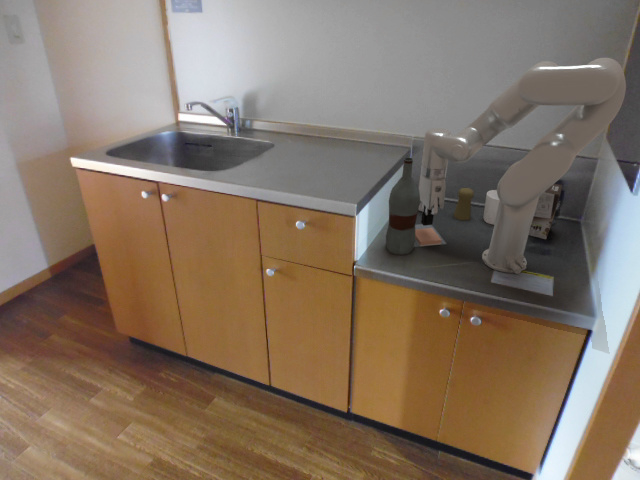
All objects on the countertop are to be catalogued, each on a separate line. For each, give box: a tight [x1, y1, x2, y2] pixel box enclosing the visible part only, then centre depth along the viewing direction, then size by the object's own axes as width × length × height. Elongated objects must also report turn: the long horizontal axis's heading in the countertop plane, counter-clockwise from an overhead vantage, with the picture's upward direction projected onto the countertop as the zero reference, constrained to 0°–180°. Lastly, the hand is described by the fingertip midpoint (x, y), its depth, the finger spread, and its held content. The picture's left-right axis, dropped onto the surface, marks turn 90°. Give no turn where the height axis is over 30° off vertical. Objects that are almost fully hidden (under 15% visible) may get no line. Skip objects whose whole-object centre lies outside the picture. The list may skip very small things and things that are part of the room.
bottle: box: [385, 156, 420, 256], centre depth 133 cm, size 9×9×30 cm
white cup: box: [482, 189, 500, 226], centre depth 154 cm, size 8×8×10 cm
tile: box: [415, 228, 442, 247], centre depth 144 cm, size 2×7×8 cm
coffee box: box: [528, 183, 563, 240], centre depth 145 cm, size 9×6×16 cm
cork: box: [453, 187, 475, 221], centre depth 155 cm, size 6×6×11 cm
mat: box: [413, 223, 447, 248], centre depth 147 cm, size 14×11×1 cm
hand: (426, 224), depth 143 cm, fingers closed
